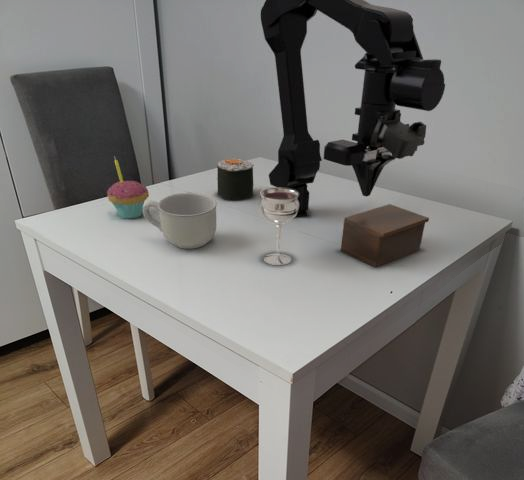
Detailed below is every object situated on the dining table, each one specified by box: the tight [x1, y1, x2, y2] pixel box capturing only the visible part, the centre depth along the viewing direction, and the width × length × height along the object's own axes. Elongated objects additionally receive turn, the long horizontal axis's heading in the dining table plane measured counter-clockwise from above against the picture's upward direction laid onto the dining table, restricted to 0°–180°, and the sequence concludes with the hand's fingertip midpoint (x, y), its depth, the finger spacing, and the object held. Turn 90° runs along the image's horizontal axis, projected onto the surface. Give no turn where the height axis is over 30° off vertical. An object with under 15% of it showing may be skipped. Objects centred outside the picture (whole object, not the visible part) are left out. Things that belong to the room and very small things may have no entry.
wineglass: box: [259, 186, 300, 266], centre depth 85 cm, size 7×7×12 cm
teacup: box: [142, 192, 217, 250], centre depth 92 cm, size 14×11×8 cm
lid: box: [343, 203, 430, 237], centre depth 88 cm, size 9×13×1 cm
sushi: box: [217, 157, 255, 202], centre depth 116 cm, size 8×8×8 cm
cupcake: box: [106, 155, 150, 219], centre depth 103 cm, size 9×8×12 cm
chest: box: [340, 221, 426, 268], centre depth 91 cm, size 9×13×6 cm
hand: (366, 195), depth 90 cm, fingers closed
